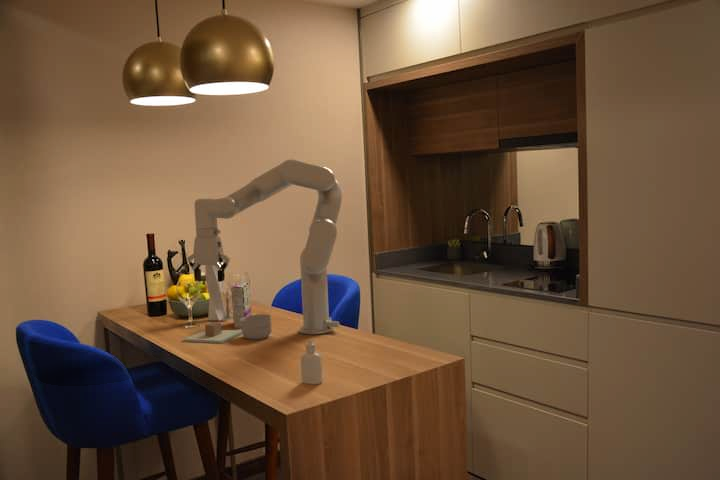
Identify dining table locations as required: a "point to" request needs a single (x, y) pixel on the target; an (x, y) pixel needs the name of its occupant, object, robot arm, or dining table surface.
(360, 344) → the dining table surface
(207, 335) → the lid
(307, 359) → the eye dropper bottle
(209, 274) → the skyscraper
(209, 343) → the mat
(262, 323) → the teacup
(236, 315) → the candy bar box
